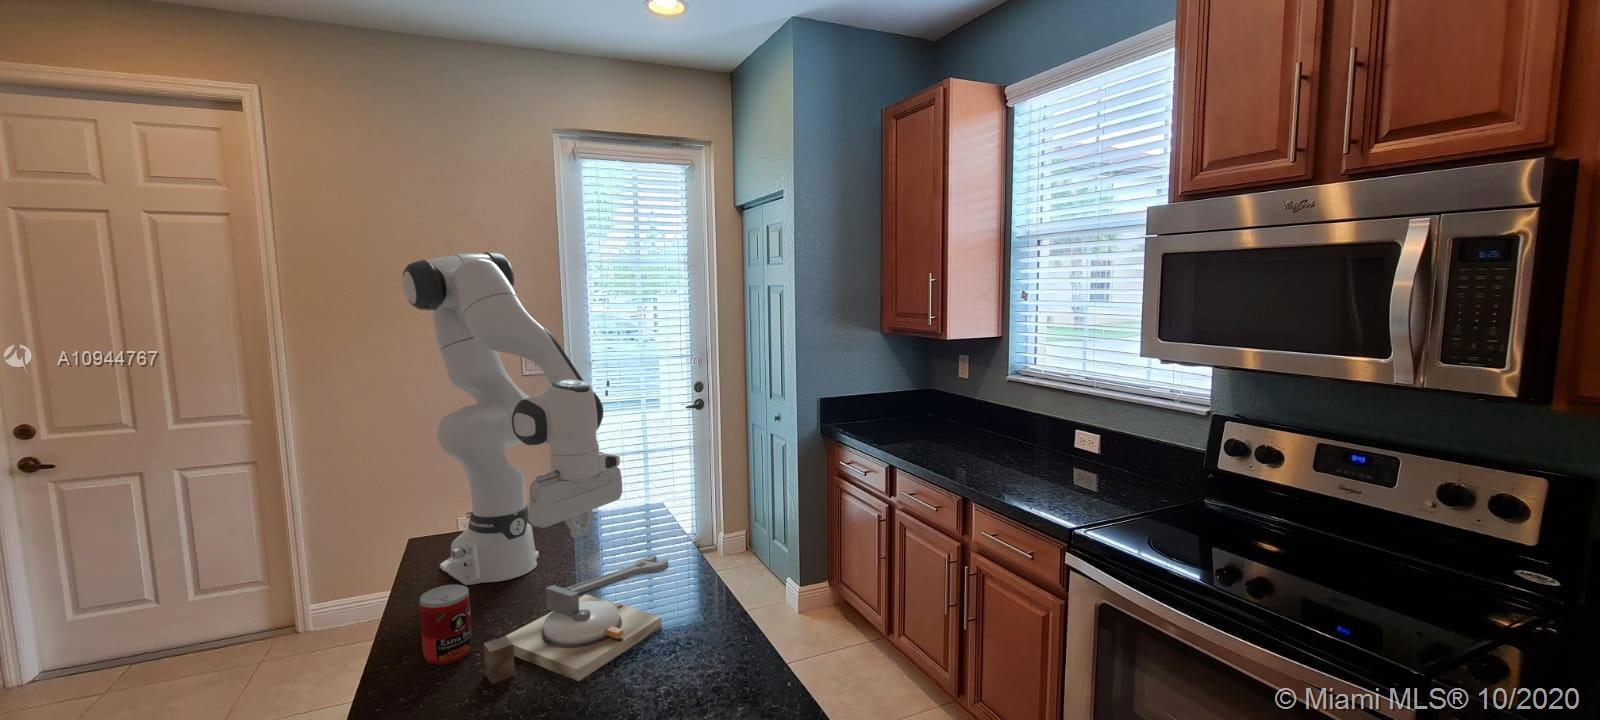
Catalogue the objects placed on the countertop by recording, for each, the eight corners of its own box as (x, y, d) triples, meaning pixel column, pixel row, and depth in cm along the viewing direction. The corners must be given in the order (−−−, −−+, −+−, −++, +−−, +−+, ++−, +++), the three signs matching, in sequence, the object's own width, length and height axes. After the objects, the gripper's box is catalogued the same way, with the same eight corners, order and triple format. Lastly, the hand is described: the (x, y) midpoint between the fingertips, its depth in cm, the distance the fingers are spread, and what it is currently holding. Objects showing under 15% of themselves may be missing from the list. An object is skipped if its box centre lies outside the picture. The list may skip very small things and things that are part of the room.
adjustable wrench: (562, 602, 139) (562, 593, 138) (552, 591, 144) (551, 583, 143) (671, 568, 154) (671, 560, 154) (658, 559, 159) (658, 552, 159)
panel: (499, 650, 119) (498, 637, 119) (586, 603, 136) (585, 592, 136) (578, 681, 109) (578, 667, 109) (661, 627, 126) (661, 615, 126)
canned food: (440, 670, 113) (435, 608, 112) (414, 657, 117) (409, 597, 116) (482, 649, 119) (478, 590, 118) (456, 637, 124) (452, 580, 122)
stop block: (492, 684, 109) (490, 652, 108) (485, 674, 111) (483, 643, 111) (515, 675, 111) (513, 644, 110) (508, 666, 114) (506, 635, 113)
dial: (521, 630, 121) (519, 600, 120) (577, 601, 132) (576, 573, 132) (592, 656, 112) (590, 624, 112) (646, 622, 123) (645, 593, 123)
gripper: (541, 480, 117) (546, 557, 119) (625, 455, 135) (629, 521, 136) (517, 476, 120) (522, 551, 122) (603, 452, 138) (606, 517, 140)
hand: (579, 535), depth 129 cm, fingers closed
